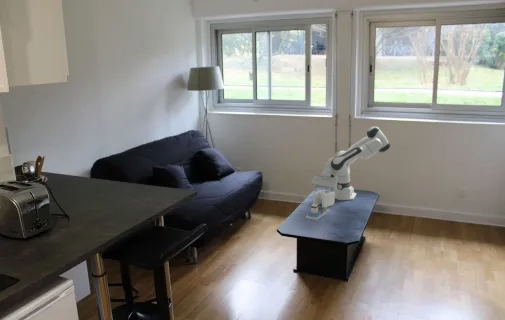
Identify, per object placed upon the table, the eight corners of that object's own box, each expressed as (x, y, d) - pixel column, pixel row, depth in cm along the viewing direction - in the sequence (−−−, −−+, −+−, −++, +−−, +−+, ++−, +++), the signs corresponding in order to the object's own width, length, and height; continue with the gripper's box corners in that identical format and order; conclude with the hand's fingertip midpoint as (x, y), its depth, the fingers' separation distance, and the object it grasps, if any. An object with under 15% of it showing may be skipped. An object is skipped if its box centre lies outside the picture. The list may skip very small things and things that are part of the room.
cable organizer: (322, 209, 353) (322, 195, 351) (312, 206, 361) (312, 192, 358) (334, 204, 363) (334, 191, 360) (324, 201, 371) (324, 188, 368)
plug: (313, 213, 342) (313, 203, 340) (318, 214, 340) (318, 204, 338) (310, 215, 339) (310, 205, 337) (315, 216, 337) (315, 206, 334)
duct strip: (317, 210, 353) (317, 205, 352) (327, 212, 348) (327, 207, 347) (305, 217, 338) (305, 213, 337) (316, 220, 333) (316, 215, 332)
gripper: (313, 172, 354) (307, 187, 349) (337, 176, 342) (331, 192, 337) (316, 176, 358) (310, 191, 353) (340, 180, 347) (334, 196, 341)
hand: (320, 191), depth 345 cm, fingers open, 8 cm apart
